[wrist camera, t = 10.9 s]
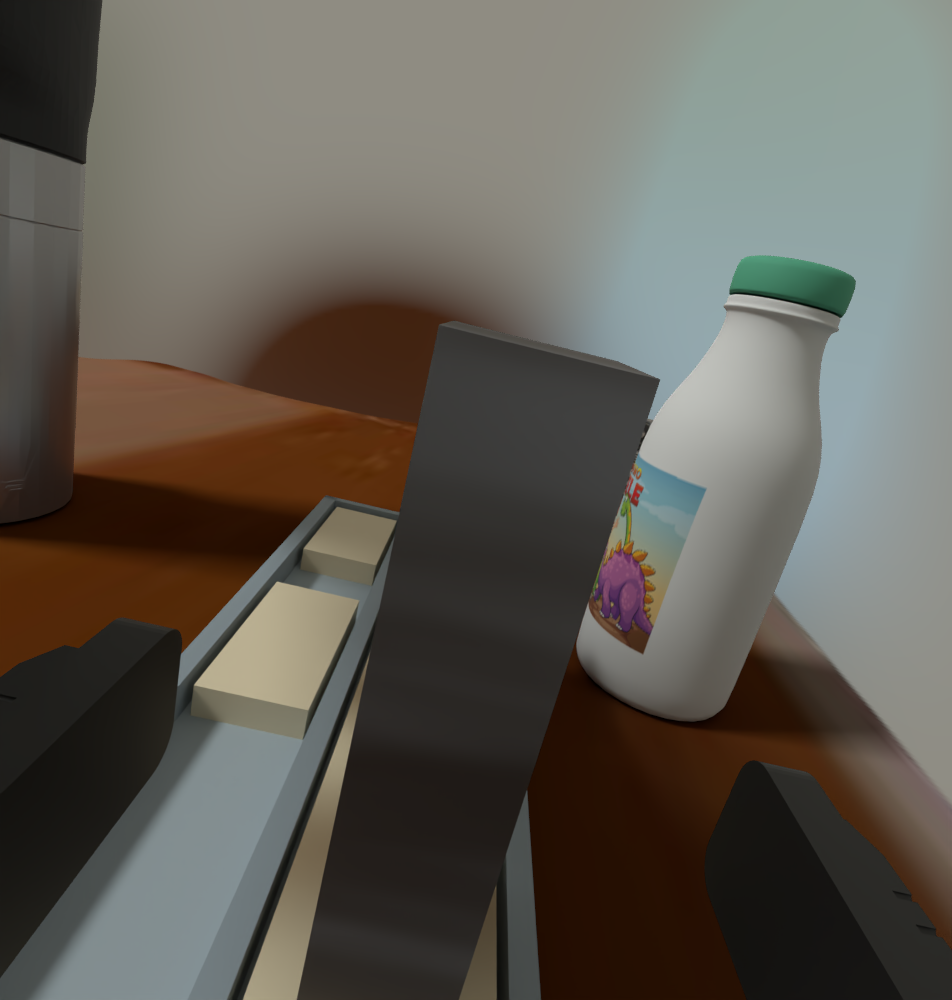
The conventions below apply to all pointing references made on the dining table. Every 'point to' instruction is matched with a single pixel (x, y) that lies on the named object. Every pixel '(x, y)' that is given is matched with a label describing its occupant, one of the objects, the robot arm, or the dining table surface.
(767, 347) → the milk bottle
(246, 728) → the lane board
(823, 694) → the dining table surface
